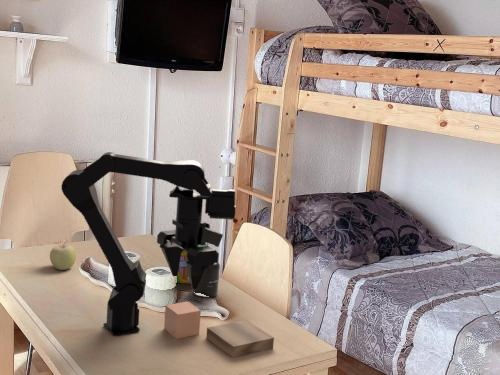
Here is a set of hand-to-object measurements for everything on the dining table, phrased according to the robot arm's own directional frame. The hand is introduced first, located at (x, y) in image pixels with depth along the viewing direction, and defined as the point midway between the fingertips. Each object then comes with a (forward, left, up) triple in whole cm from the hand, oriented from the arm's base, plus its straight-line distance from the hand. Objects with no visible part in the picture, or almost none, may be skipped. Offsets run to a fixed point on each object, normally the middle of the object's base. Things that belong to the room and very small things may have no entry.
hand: (184, 282), depth 148 cm
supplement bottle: (+18, +19, -12) cm, 29 cm away
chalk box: (+20, +31, -12) cm, 39 cm away
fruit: (-10, +53, -12) cm, 55 cm away
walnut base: (+9, -11, -12) cm, 19 cm away
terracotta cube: (0, 0, -12) cm, 12 cm away
